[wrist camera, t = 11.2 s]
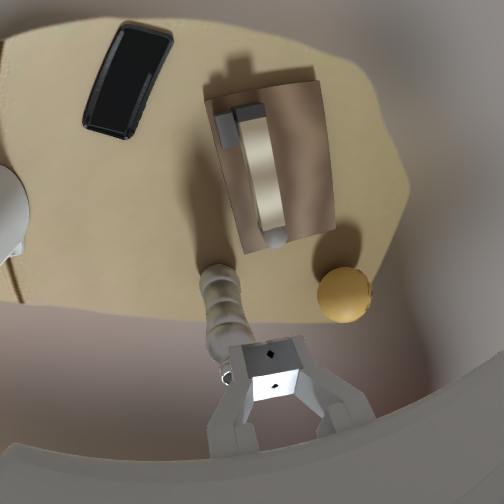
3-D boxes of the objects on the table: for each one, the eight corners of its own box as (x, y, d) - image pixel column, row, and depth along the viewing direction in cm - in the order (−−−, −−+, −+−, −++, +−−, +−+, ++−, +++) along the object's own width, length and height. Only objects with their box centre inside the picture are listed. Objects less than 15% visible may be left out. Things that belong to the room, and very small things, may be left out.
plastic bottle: (224, 251, 45) (247, 353, 28) (245, 279, 49) (273, 378, 32) (190, 271, 46) (196, 375, 29) (212, 297, 49) (228, 397, 33)
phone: (79, 127, 30) (122, 22, 23) (82, 125, 31) (124, 24, 24) (131, 142, 33) (177, 37, 26) (133, 140, 33) (177, 38, 27)
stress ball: (301, 282, 53) (321, 330, 52) (320, 278, 43) (343, 335, 42) (345, 261, 55) (363, 307, 54) (369, 254, 45) (390, 308, 44)
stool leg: (280, 230, 42) (289, 245, 39) (260, 236, 42) (266, 251, 39) (256, 101, 32) (264, 103, 28) (230, 107, 32) (235, 109, 28)
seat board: (242, 247, 45) (248, 265, 41) (204, 100, 32) (205, 101, 28) (330, 223, 46) (344, 238, 42) (313, 80, 33) (329, 80, 29)
